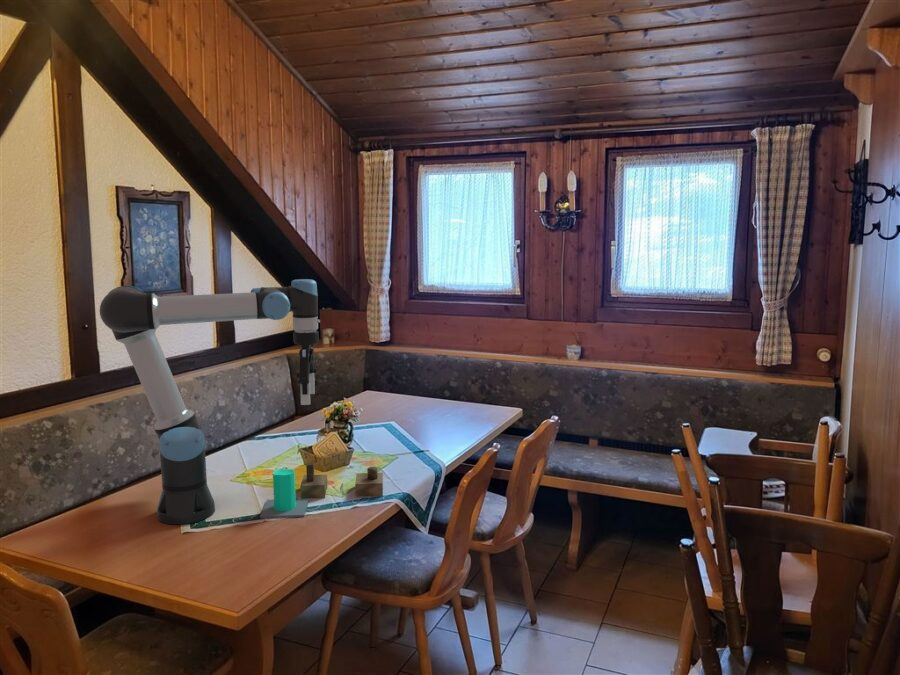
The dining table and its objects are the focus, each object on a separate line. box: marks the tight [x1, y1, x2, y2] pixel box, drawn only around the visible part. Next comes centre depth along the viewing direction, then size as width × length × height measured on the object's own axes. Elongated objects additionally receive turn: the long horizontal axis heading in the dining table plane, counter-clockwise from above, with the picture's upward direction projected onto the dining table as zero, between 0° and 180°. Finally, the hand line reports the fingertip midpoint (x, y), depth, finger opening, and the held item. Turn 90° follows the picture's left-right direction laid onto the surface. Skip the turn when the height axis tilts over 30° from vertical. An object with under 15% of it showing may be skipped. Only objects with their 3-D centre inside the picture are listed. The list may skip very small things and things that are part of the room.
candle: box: [272, 466, 297, 511], centre depth 203 cm, size 6×6×12 cm
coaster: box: [259, 498, 310, 519], centre depth 204 cm, size 12×12×1 cm
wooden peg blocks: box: [300, 462, 384, 499], centre depth 217 cm, size 24×9×9 cm, turn 95°
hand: (308, 399), depth 221 cm, fingers open, 13 cm apart
